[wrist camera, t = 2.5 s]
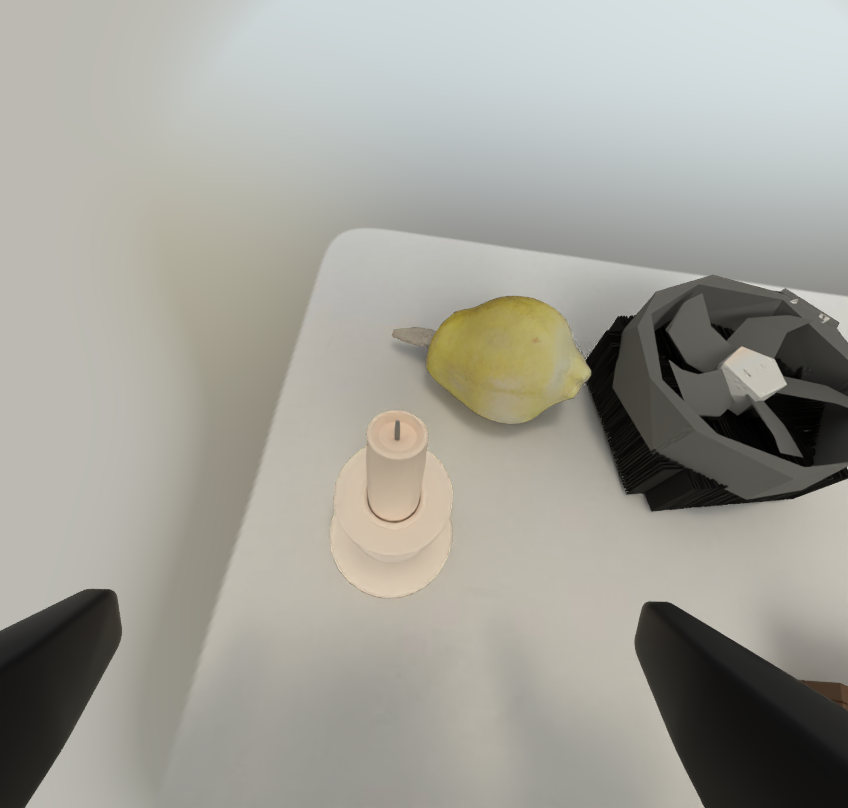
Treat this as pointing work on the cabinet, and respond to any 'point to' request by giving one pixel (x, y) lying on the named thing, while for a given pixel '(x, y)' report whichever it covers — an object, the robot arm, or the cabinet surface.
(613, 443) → the cpu cooler
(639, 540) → the cabinet surface
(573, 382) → the fruit
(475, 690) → the cabinet surface
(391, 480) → the candle
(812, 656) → the cabinet surface
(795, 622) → the cabinet surface
